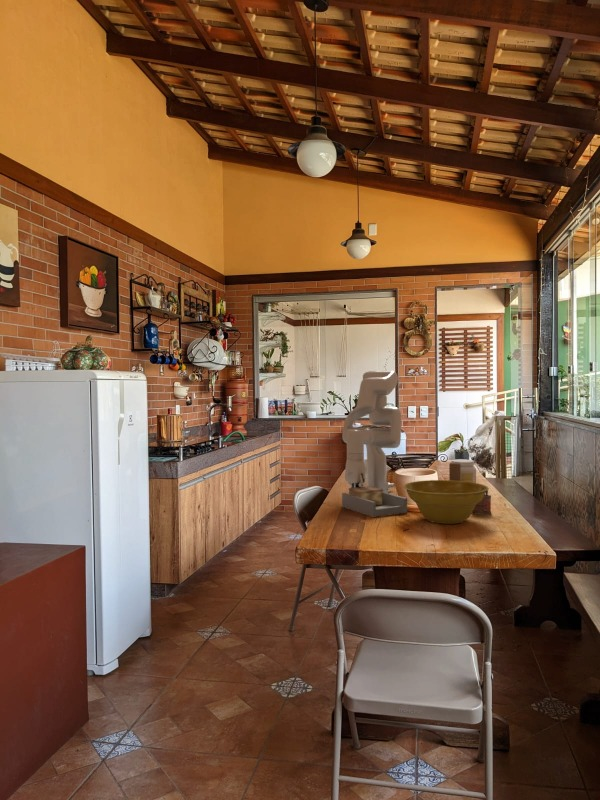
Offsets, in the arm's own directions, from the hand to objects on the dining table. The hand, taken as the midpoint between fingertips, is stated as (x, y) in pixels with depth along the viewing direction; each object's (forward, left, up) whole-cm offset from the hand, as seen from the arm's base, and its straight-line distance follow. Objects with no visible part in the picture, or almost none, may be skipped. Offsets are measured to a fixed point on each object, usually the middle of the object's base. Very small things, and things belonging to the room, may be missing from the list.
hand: (355, 498), depth 254 cm
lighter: (-34, +41, -3) cm, 54 cm away
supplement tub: (-54, +10, -3) cm, 55 cm away
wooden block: (-40, +23, -3) cm, 46 cm away
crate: (0, +8, -1) cm, 8 cm away
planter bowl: (-13, +43, -3) cm, 45 cm away
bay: (0, +13, -3) cm, 13 cm away
